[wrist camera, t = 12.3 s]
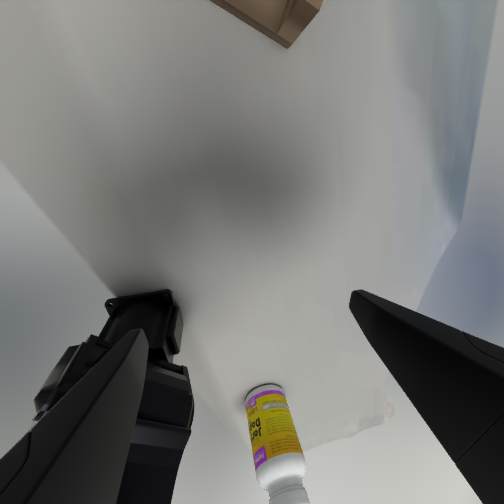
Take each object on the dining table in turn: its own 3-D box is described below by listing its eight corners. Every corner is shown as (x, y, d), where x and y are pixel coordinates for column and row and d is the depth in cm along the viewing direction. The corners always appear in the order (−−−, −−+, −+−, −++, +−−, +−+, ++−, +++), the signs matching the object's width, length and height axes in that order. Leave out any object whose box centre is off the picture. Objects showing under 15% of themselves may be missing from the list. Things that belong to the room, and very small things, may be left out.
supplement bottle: (249, 383, 33) (272, 508, 21) (287, 381, 34) (327, 494, 23) (240, 408, 35) (257, 530, 24) (276, 405, 37) (307, 517, 26)
